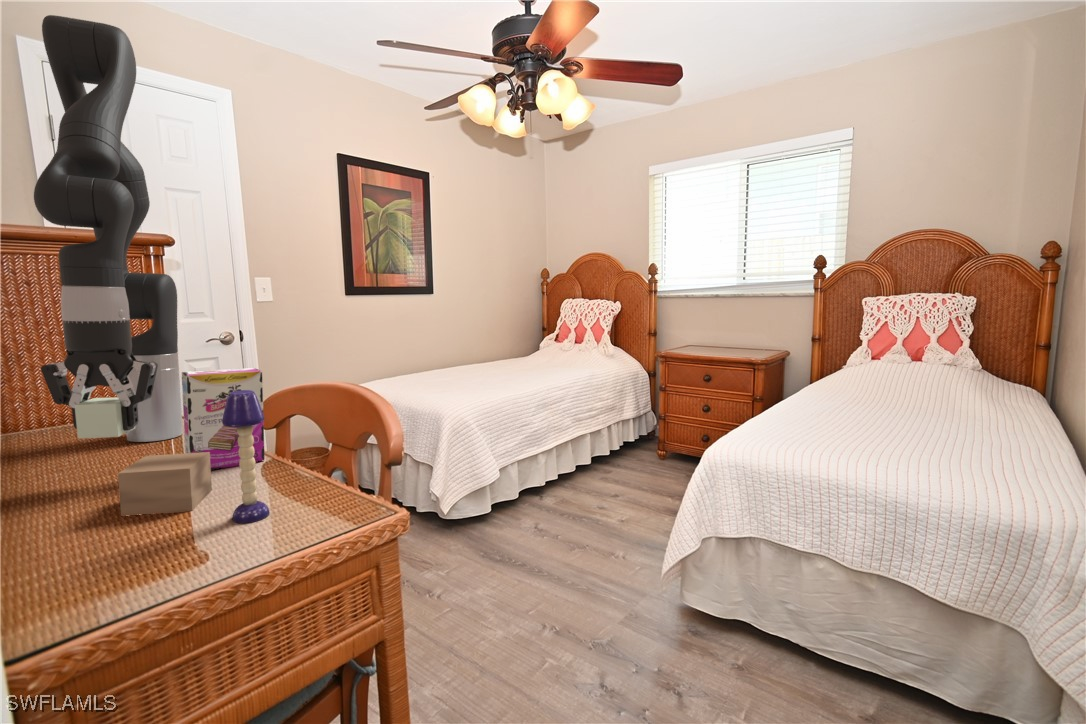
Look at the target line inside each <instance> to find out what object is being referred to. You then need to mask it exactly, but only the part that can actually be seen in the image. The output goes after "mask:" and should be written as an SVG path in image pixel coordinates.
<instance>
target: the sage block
mask: <svg viewBox="0 0 1086 724" xmlns="http://www.w3.org/2000/svg"><path fill="white" fill-rule="evenodd" d="M121 407H123V405H122V404H121V402H120V400H119V398H118V397H93V398H91V399H90V398H89V400H87V401H84V402H82V403H79V404H76V405H75V415H76V425H77V429H76V432H77V433H76V434H77V435H76V436H77V439H78V440H79V439H96V438H97V439H98V438H119V437H121V436H124V434H126V433H127V432H129V431H131V430H133V429H135V427H134V428H133V429H131V430H126V431H124V430H123V424H122V412H121Z"/></svg>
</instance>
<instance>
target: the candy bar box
mask: <svg viewBox="0 0 1086 724" xmlns="http://www.w3.org/2000/svg"><path fill="white" fill-rule="evenodd" d="M263 386H264V385H263V371H262V370H261V369H258V368H255V367H249V368H248V367H245V368H244V367H243V368H230V369H227V368H226V369H211V370H210V369H207V370H192V371H190V370H188V371H187V370H186V371H181V387H182V388H181V389H182V391H181V392H182V412H183V431H184V432H183V434H184V437H183V438H184V453H201V452H210V465H211V471H214V469H216V470H220V469H219V468H221V469H226V468H231V467H238V466H240V465H239V463H240V459H241V458H240V457H239V448H240V446H239V445H238V437H239V435H238V433H237V427H226V426H224V425H223V424H222V419H223V414H224V410H225V405H226V401H227V397H228V394H229V393H230V392H234V391H239V390H252V391H254V392H255V394H256V396H257V398H258V401H259V404H260V406H261V409H262V412H263V413H264V394H263V391H264V390H263V388H264V387H263ZM264 424H265V421H263V422H261V423H260V424H256V425H252V426H253V432H252V435H253V438H254V443H253V445H252V446H253V447H254V451H255V453H254V456H253V457H254V459H255V463H259V462H258V461H261V462H263V461H262V460H264V461H265V428H264V427H265V425H264Z"/></svg>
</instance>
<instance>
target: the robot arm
mask: <svg viewBox="0 0 1086 724" xmlns="http://www.w3.org/2000/svg"><path fill="white" fill-rule="evenodd" d="M41 33H42V34H41V35H42V39H43V40H42V41H43V45H44V48H45V53H46V56H47V60H48V63H49V66H50V70H51V73H52V75H53V79H54V82H55V84H56V89H57V91H58V94H59V97H60V102H61V104H62V107H63V110H64V114H63V115H62V117H61V120H60V123H59V127H58V128H59V129H58V138H57V147H56V151H55V153H54V155H53V156H52V158H51V160H50V162H49V163H48V165H47V166H46V167H45V168H44V169H43V171H42V173H41V174H40V176H39V177H38V179H37V180H36V184H35V186H34V190H33V203H34V205H35V207H36V210H37V212H38V213H39V214H40V215H41V217H42V218H44V219H45V220H46V221H47V222H49V223H51V224H53V225H57V226H61V227H70V228H71V227H72V228H74V227H75V228H88V229H93V234H94V238H95V240H93V241H90V242H80V243H72V244H67V245H63V246H62V247H60V248H59V251H58V263H59V266H58V267H59V274H60V276H59V277H60V284H61V295H60V308H61V310H60V315H61V317H62V328H63V329H62V330H63V339H64V349H65V351H66V356H65V358H64V360H63V361H62V362H61V361H60V362H52V363H47V364H44V365H42V366H40V371H41V373H42V376H43V379H44V381H45V383H46V387H47V388H48V390H49V393H50V395H51V397H52V398H51V399H52V400H53V402H54V403H55V404H56V405H65V406H68V407H70V408H71V413H72V424H73V427H74V428H75V429H76V430H77V425H76V415H75V405H76V404H79V403H82V402H84V401H87V400H90V398H91V395H92V392H93V391H95V389H96V387H97V386H103V387H109V388H110V389H111V390H112V393H114V395H116V396H117V397H118V398H119V400H120V402H121V404H122V405H123V407H121V412H122V424H123V430H124V431H126V430H131V429H133V428H134V427H135V429H133V430H131V431H129V432H127V433H125V434H126V440H127V441H128V442H134V443H146V442H157V441H164V440H169V439H174V438H177V437H180V436H181V435H183V434H184V432H183V431H184V426H183V415H182V412H183V409H182V398H181V397H182V396H181V382H180V381H181V380H180V367H179V364H180V363H179V349H178V346H179V345H178V342H179V341H178V339H179V337H178V336H179V335H178V292H177V291H178V290H177V286H176V282H175V281H174V278H172V277H171V276H170V275H169V274H166V273H152V272H150V273H149V272H148V273H146V272H129V268H128V261H127V258H128V257H127V256H128V252H129V248H130V245H131V243H132V241H133V239H134V238H135V235H136V234H137V232H138V231H139V229H140V228H141V225H142V224H143V223H144V221H145V220H146V219H145V218H146V217H147V214H148V213H149V211H150V210H149V209H150V197H149V192H148V186H147V182H146V181H147V180H146V175H145V172H144V169H143V167H142V165H141V163H140V162H139V161H138V159H137V158H136V156H135V155H134V154H133V153H132V152H131V151H130V149H129V147H127V146H126V145H125V144H124V143H123V141H122V140H121V138H122V132H123V128H124V127H123V125H124V122H125V119H126V115H127V113H128V110H129V107H130V103H131V100H132V96H133V93H134V89H135V85H136V79H137V61H136V57H135V51H134V49H133V46H132V42H131V40H130V38H129V37H128V35H127V34H126V32H125V31H124V30H122V28H119V27H117V26H115V25H112V24H107V23H104V22H103V23H102V22H98V21H93V20H92V21H91V20H85V19H80V18H73V17H67V16H61V15H53V14H51V15H50V14H49V15H46V16H45V17H44V18H43V19H42V23H41ZM85 84H90V85H91V84H92V85H96V86H95V87H94V88H93V89H92V90H90V91H89V92H88V93H87V90H86V88H85ZM131 320H147V321H148V320H149V321H150V320H152V324H151V325H152V326H151V327H150V328H149V329H148V330H146V331H144V332H143V333H140V334H137V335H134V336H132V330H131V329H132V327H131ZM68 371H69V372H70V373H71V374H72V375H73V376H74V378H75V380H74V383H73V386H72V388H71V386H70V384H69V381H68V379H67V375H68Z"/></svg>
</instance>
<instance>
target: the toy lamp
mask: <svg viewBox="0 0 1086 724" xmlns="http://www.w3.org/2000/svg"><path fill="white" fill-rule="evenodd" d="M264 420H265V415H264V411H263V412H262V409H261V406H260V404H259V401H258V398H257V396H256V394H255V392H254V391H252V390H239V391H234V392H230V393H229V394H228V397H227V401H226V405H225V410H224V414H223V419H222V424H223V425H224V426H226V427H237V433H238V435H239V437H238V445H239V446H240V448H239V457H240V458H241V459H240V463H239V465H238V466H239V469H240V474H239V478H240V480H241V484H240V487H241V488H240V489H241V492H242V494H241V501H242V503H241V504H239V505H237V507H236V508H235V509H234V511H233V513H232V518H231V519H232V521H233V522H234V523H238V524H247V523H248V524H249V523H254V522H258V521H261V520H263V519H265V518H267V517H268V516H269V515H270V510H269V509H270V508H269V507H268V505H267V504H266V503H265V502H263V501H260V500H258V497H259V496H258V492H257V487H258V484H257V483H258V482H257V481H256V477H257V472H256V469H255V467H256V462H255V459H254V457H253V456H254V453H255V451H254V447H253V446H252V445H253V443H254V438H253V435H252V432H253V426H252V425H256V424H260V423H261V422H263V421H264ZM264 422H265V421H264Z"/></svg>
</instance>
